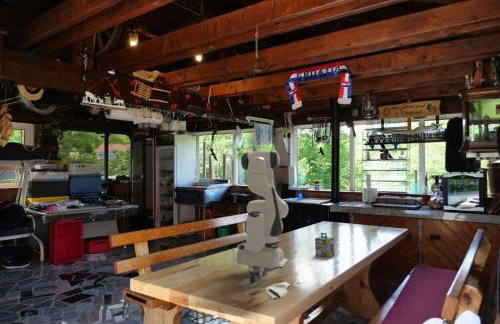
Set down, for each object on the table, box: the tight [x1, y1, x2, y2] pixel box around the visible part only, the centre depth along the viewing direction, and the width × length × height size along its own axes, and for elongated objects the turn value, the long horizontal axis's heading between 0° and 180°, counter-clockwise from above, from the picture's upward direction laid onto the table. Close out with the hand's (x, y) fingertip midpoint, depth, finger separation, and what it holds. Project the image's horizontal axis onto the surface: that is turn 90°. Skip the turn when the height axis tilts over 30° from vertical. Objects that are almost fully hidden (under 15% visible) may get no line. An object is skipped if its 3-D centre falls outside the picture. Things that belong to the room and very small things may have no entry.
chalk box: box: [314, 232, 336, 258], centre depth 232 cm, size 9×9×15 cm
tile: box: [231, 293, 255, 305], centre depth 157 cm, size 2×7×8 cm
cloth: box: [265, 281, 291, 300], centre depth 169 cm, size 26×14×2 cm, turn 149°
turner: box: [237, 267, 267, 288], centre depth 166 cm, size 20×6×4 cm, turn 150°
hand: (256, 275), depth 168 cm, fingers closed on turner, 2 cm apart
